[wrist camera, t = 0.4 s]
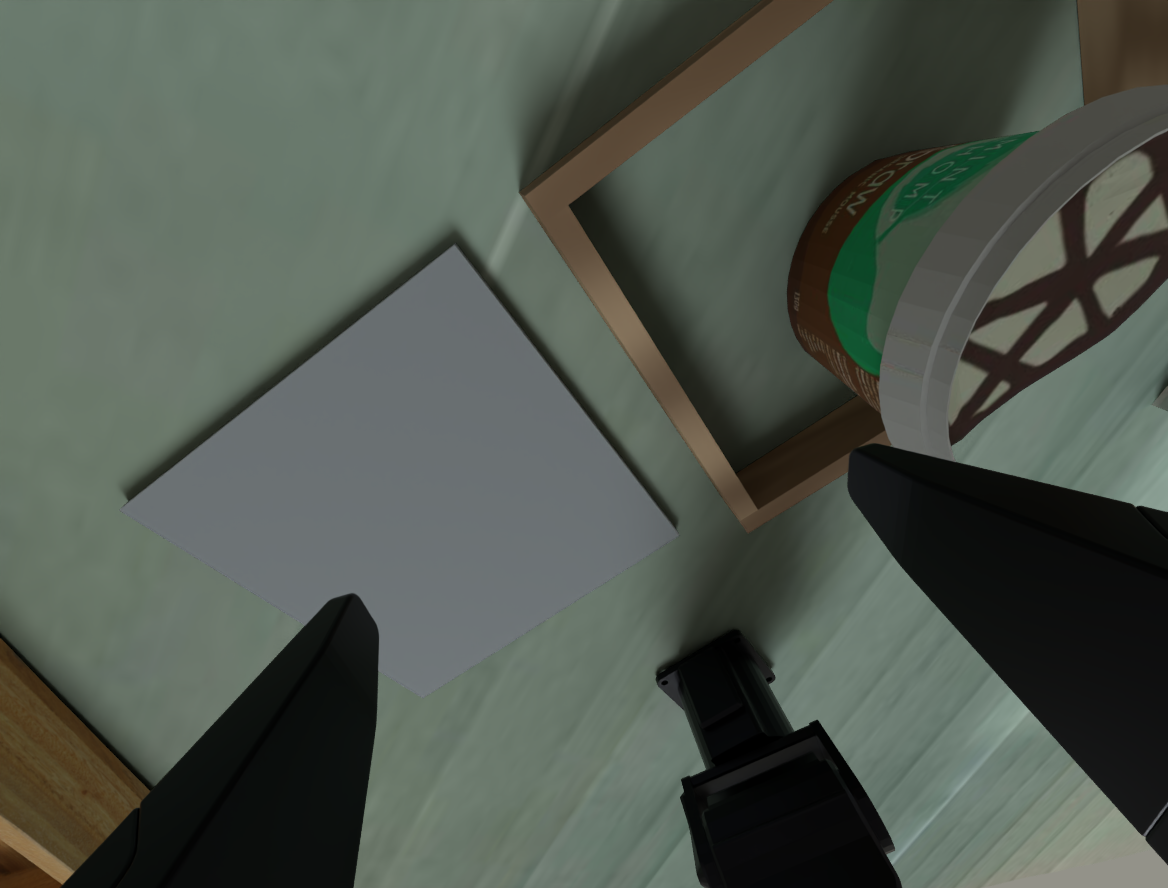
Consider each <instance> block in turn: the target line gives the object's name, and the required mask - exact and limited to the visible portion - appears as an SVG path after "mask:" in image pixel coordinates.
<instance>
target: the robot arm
mask: <svg viewBox="0 0 1168 888" xmlns="http://www.w3.org/2000/svg"><path fill="white" fill-rule="evenodd" d="M847 486H848V492H849V495H850V497H851V499H852V500H853V502H854V503H855V504H856V506H857V507H858V509H859V510H860V511H861V513H862V514H863V515H864V517H865V518H866V520H867V521H868V522H869V524H870V525H871V526H872V528H873V529H874V531H875V532H876V533H877V535H878V536H879V538H880V539H881V540H882V542H883V543H884V544H885V546H886V547H887V549H888V550H889V551H890V553H891V554H892V555H893V557H894V558H895V559H896V561H897V562H898V563H899V564H900V566H901V567H902V568H903V569H904V570H905V572H906V573H907V574H908V575H909V576H910V577H911V579H912V580H913V581H914V582H915V583H916V584H917V585H918V586H919V587H920V589H921V590H922V591H923V592H924V593H925V594H926V595H927V596H928V598H929V599H930V600H931V601H932V602H933V603H934V604H935V605H936V606H937V608H938V609H939V610H940V611H941V612H942V613H943V614H944V615H945V616H946V618H947V619H948V620H949V621H950V622H951V623H952V624H953V625H954V627H955V628H956V629H957V630H958V631H959V632H960V633H961V634H962V635H963V637H964V638H965V639H966V640H967V641H968V642H969V643H970V644H971V645H972V647H973V648H974V649H975V650H976V651H977V652H978V653H979V654H980V656H981V657H982V658H983V659H984V660H985V661H986V662H987V663H988V664H989V666H990V667H991V668H992V669H993V670H994V671H995V672H996V673H997V675H998V676H999V677H1000V678H1001V679H1002V680H1003V681H1004V682H1005V683H1006V685H1007V686H1008V687H1009V688H1010V689H1011V690H1012V691H1013V692H1014V693H1015V695H1016V696H1017V697H1018V698H1019V699H1020V700H1021V701H1022V702H1023V704H1024V705H1025V706H1026V707H1027V708H1028V709H1029V710H1030V711H1031V712H1032V714H1033V715H1034V716H1035V717H1036V718H1037V719H1038V720H1039V721H1040V722H1041V724H1042V725H1043V726H1044V727H1045V728H1046V729H1047V730H1048V731H1049V733H1050V734H1051V735H1052V736H1053V737H1054V738H1055V739H1056V740H1057V741H1058V743H1059V744H1060V745H1061V746H1062V747H1063V748H1064V749H1065V750H1066V751H1067V753H1068V754H1069V755H1070V756H1071V757H1072V758H1073V759H1074V760H1075V762H1076V763H1077V764H1078V765H1079V766H1080V767H1081V768H1082V769H1083V770H1084V772H1085V773H1086V774H1087V775H1088V776H1089V777H1090V778H1091V779H1092V780H1093V782H1094V783H1095V784H1096V785H1097V786H1098V787H1099V788H1100V789H1101V791H1102V792H1103V793H1104V794H1105V795H1106V796H1107V797H1108V798H1109V799H1110V801H1111V802H1112V803H1113V804H1114V805H1115V806H1116V807H1117V808H1118V810H1119V811H1120V812H1121V813H1122V814H1123V815H1124V816H1125V817H1126V818H1127V820H1128V821H1129V822H1130V823H1131V824H1132V825H1133V826H1134V827H1135V828H1136V830H1137V831H1138V832H1139V833H1140V834H1141V835H1142V836H1145V837H1146V838H1145V839H1146V841H1147V843H1148V844H1149V845H1150V846H1151V847H1152V848H1153V849H1154V850H1155V851H1156V853H1157V854H1158V855H1159V856H1160V857H1161V858H1162V859H1163V860H1164V861H1165V862H1166V864H1167V865H1168V512H1165V511H1160V510H1156V509H1152V508H1148V507H1144V506H1137V507H1135V506H1134V505H1133V504H1131V503H1126V502H1122V501H1118V500H1114V499H1110V498H1105V497H1101V496H1097V495H1093V494H1088V493H1084V492H1080V491H1076V490H1072V489H1067V488H1063V487H1059V486H1055V485H1051V484H1046V483H1042V482H1038V481H1034V480H1029V479H1025V478H1021V477H1017V476H1013V475H1008V474H1004V473H1000V472H996V471H992V470H987V469H983V468H979V467H975V466H971V465H966V464H962V463H958V462H954V461H950V460H945V459H941V458H937V457H933V456H928V455H924V454H920V453H916V452H912V451H907V450H903V449H899V448H895V447H891V446H886V445H882V444H878V443H871V444H868V445H864V446H861V447H857V448H854V449H853V450H852V451H851V452H850V454H849V466H848V483H847ZM378 664H379V631H378V627H377V624H376V622H375V621H374V619H373V617H372V616H371V614H370V613H369V611H368V609H367V608H366V606H365V605H364V603H363V602H362V600H361V598H360V597H359V596H358V595H357V594H355V593H349V594H346V595H342V596H339V597H335V598H332V599H330V600H329V601H328V602H327V603H326V604H325V605H324V606H323V607H322V608H321V609H320V610H319V611H318V612H317V613H316V614H315V616H314V617H313V618H312V619H311V620H310V621H309V622H308V623H307V624H306V625H305V626H304V627H303V628H302V629H301V631H300V632H299V633H298V634H297V635H296V636H295V637H294V638H293V639H292V640H291V641H290V642H289V643H288V644H287V646H286V647H285V648H284V649H283V650H282V651H281V652H280V653H279V654H278V655H277V656H276V657H275V658H274V660H273V661H272V662H271V663H270V664H269V665H268V666H267V667H266V668H265V669H264V670H263V671H262V672H261V673H260V675H259V676H258V677H257V678H256V679H255V680H254V681H253V682H252V683H251V684H250V685H249V686H248V687H247V688H246V690H245V691H244V692H243V693H242V694H241V695H240V696H239V697H238V698H237V699H236V700H235V701H234V702H233V703H232V705H231V706H230V707H229V708H228V709H227V710H226V711H225V712H224V713H223V714H222V715H221V716H220V717H219V718H218V720H217V721H216V722H215V723H214V724H213V725H212V726H211V727H210V728H209V729H208V730H207V731H206V732H205V733H204V735H203V736H202V737H201V738H200V739H199V740H198V741H197V742H196V743H195V744H194V745H193V746H192V747H191V748H190V750H189V751H188V752H187V753H186V754H185V755H184V756H183V757H182V758H181V759H180V760H179V761H178V762H177V763H176V765H175V766H174V767H173V768H172V769H171V770H170V771H169V772H168V773H167V774H166V775H165V776H164V777H163V778H162V780H161V781H160V782H159V783H158V784H157V785H156V786H155V787H154V788H153V789H152V790H151V791H150V792H149V793H148V795H147V796H146V797H145V798H144V799H143V800H142V801H141V802H140V808H139V807H138V808H135V809H133V810H132V811H131V813H130V814H129V815H128V816H127V817H126V818H125V819H124V820H123V821H122V822H121V823H120V824H119V826H118V827H117V828H116V829H115V830H114V831H113V832H112V833H111V834H110V835H109V836H108V837H107V838H106V839H105V841H104V842H103V843H102V844H101V845H100V846H99V847H98V848H97V849H96V850H95V851H94V852H93V853H92V854H91V855H90V856H89V857H88V858H87V859H86V860H85V861H84V862H83V864H82V865H81V866H80V867H79V868H78V869H77V870H76V871H75V872H74V873H73V874H72V875H71V876H70V877H69V878H68V879H67V880H66V881H65V882H64V883H63V884H62V886H61V887H60V888H353V887H354V880H355V873H356V866H357V859H358V852H359V845H360V838H361V831H362V824H363V817H364V809H365V802H366V795H367V788H368V781H369V774H370V767H371V760H372V753H373V746H374V739H375V730H376V720H377V698H378ZM775 678H776V677H775V675H774V673H773V671H772V670H771V669H770V668H769V666H768V665H767V664H766V663H765V661H764V660H763V659H762V658H761V656H760V655H759V654H758V653H757V651H756V650H755V649H754V648H753V646H752V645H751V644H750V643H749V641H748V640H747V639H746V638H745V636H744V635H743V634H742V633H741V631H739V630H734V631H731V632H730V633H728V634H726V635H725V636H723V637H721V638H719V639H718V640H716V641H714V642H713V643H711V644H709V645H708V646H706V647H704V648H703V649H701V650H699V651H697V652H696V653H694V654H692V655H691V656H689V657H687V658H686V659H684V660H682V661H681V662H679V663H677V664H675V665H674V666H672V667H670V668H669V669H667V670H665V671H664V672H662V673H660V674H659V675H657V677H656V682H657V685H658V687H659V688H661V689H662V690H663V691H664V692H665V693H666V694H667V695H668V696H669V697H670V698H671V699H672V700H673V701H674V702H676V703H677V704H678V705H679V706H680V707H681V708H682V709H683V710H684V711H685V714H686V716H687V719H688V722H689V724H690V727H691V730H692V733H693V735H694V738H695V741H696V743H697V746H698V749H699V751H700V754H701V757H702V759H703V762H704V765H705V768H706V770H705V771H703V772H700V773H698V774H696V775H694V776H691V777H690V776H687V777H684V778H682V779H681V781H682V785H683V789H684V793H683V794H682V795H681V797H680V799H681V802H682V805H683V809H684V812H685V815H686V818H687V822H688V825H689V829H690V834H691V840H692V847H693V853H694V860H695V866H696V872H697V876H698V879H699V882H700V884H701V885H702V886H703V887H704V888H902V885H901V881H900V879H899V877H898V875H897V873H896V871H895V869H894V868H893V866H892V864H891V862H890V861H889V859H888V857H887V855H886V854H888V853H891V852H893V851H895V847H894V844H893V842H892V840H891V837H890V835H889V833H888V831H887V829H886V827H885V825H884V823H883V822H882V820H881V818H880V816H879V814H878V812H877V811H876V809H875V807H874V805H873V804H872V802H871V800H870V798H869V797H868V795H867V793H866V792H865V790H864V789H863V787H862V785H861V784H860V782H859V781H858V779H857V778H856V776H855V775H854V773H853V772H852V770H851V769H850V767H849V766H848V764H847V763H846V761H845V760H844V758H843V757H842V755H841V754H840V752H839V751H838V749H837V748H836V746H835V745H834V743H833V742H832V740H831V739H830V737H829V736H828V734H827V733H826V731H825V730H824V728H823V727H822V725H821V724H820V722H819V721H818V720H815V721H813V722H811V723H809V725H808V726H806V727H804V728H801V729H799V730H797V731H795V732H794V730H793V728H792V726H791V724H790V723H789V721H788V719H787V717H786V715H785V714H784V712H783V710H782V708H781V706H780V704H779V703H778V701H777V699H776V697H775V695H774V694H773V692H772V690H771V688H770V686H769V684H770V683H772V682H773V681H774V680H775Z"/></svg>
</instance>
